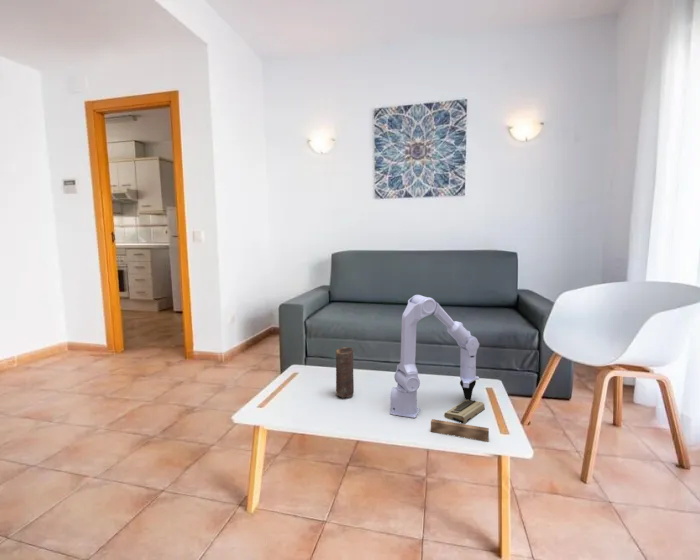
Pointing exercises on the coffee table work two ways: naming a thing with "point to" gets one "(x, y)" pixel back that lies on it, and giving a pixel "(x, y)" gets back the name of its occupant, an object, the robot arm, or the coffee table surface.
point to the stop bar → (460, 430)
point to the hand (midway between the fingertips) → (467, 399)
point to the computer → (465, 411)
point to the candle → (344, 372)
